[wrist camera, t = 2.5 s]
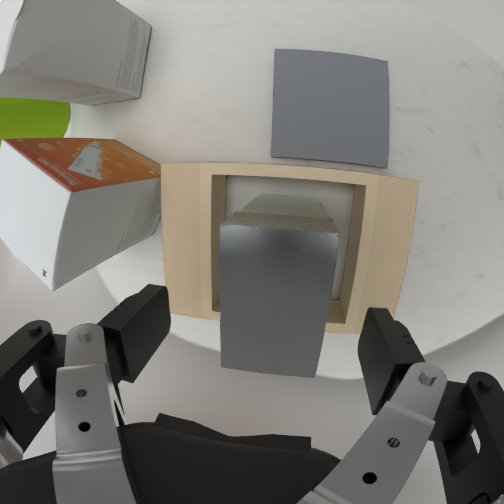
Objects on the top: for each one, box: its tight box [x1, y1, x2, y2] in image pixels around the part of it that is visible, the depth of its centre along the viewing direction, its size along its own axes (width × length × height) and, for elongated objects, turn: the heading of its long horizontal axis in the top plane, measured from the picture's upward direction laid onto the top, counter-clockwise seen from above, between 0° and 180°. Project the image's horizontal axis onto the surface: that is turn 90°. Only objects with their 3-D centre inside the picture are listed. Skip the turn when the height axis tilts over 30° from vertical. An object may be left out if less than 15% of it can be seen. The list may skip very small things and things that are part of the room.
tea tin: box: [220, 194, 340, 378], centre depth 17 cm, size 5×7×12 cm, turn 178°
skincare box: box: [0, 0, 151, 105], centre depth 13 cm, size 8×7×16 cm
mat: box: [271, 49, 389, 168], centre depth 19 cm, size 9×9×1 cm
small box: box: [0, 138, 161, 291], centre depth 18 cm, size 8×6×13 cm
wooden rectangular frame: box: [161, 163, 419, 334], centre depth 21 cm, size 18×12×4 cm, turn 88°
